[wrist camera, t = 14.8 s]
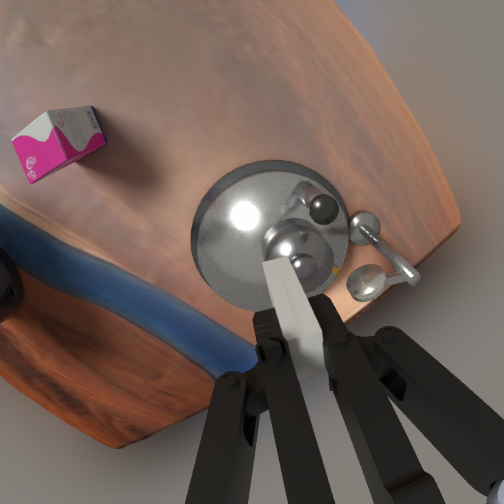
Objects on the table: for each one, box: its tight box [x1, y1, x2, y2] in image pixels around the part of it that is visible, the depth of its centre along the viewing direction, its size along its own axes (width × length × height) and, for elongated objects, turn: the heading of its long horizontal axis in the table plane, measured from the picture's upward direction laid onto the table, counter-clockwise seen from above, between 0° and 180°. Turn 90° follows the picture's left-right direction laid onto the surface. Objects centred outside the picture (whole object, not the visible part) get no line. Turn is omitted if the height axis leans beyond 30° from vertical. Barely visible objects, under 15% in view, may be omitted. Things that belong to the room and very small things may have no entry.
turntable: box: [197, 169, 349, 312], centre depth 37 cm, size 20×20×10 cm
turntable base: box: [191, 160, 349, 286], centre depth 42 cm, size 22×22×1 cm
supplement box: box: [12, 106, 107, 184], centre depth 28 cm, size 6×6×11 cm
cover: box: [261, 218, 334, 294], centre depth 37 cm, size 8×8×6 cm
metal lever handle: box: [346, 211, 421, 302], centre depth 37 cm, size 10×5×15 cm, turn 123°
